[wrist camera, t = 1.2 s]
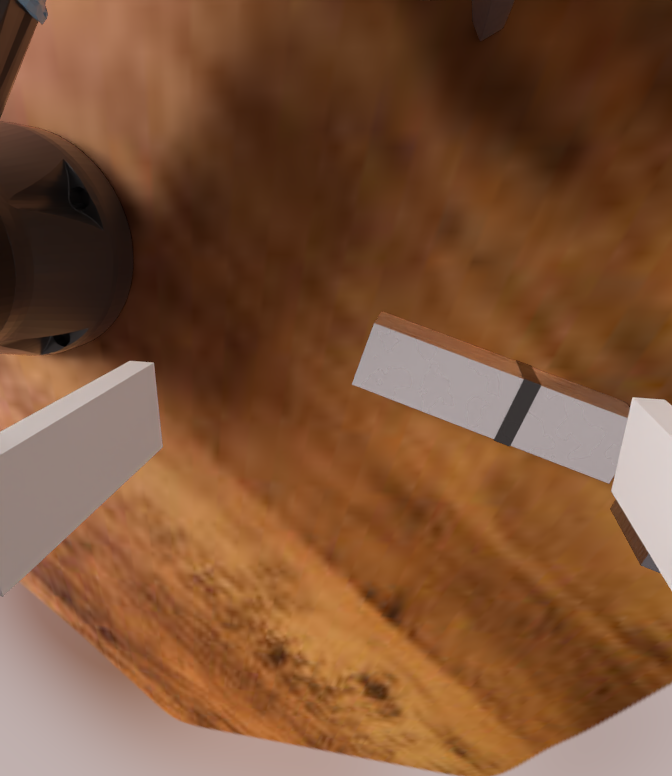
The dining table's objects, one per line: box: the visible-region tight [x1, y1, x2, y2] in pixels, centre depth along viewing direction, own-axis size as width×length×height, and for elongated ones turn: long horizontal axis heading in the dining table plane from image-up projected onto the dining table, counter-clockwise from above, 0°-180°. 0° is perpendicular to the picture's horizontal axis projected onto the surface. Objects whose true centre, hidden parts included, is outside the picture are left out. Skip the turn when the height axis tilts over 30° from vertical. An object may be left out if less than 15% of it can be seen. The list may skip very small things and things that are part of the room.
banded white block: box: [352, 311, 630, 483], centre depth 32 cm, size 16×4×4 cm, turn 72°
